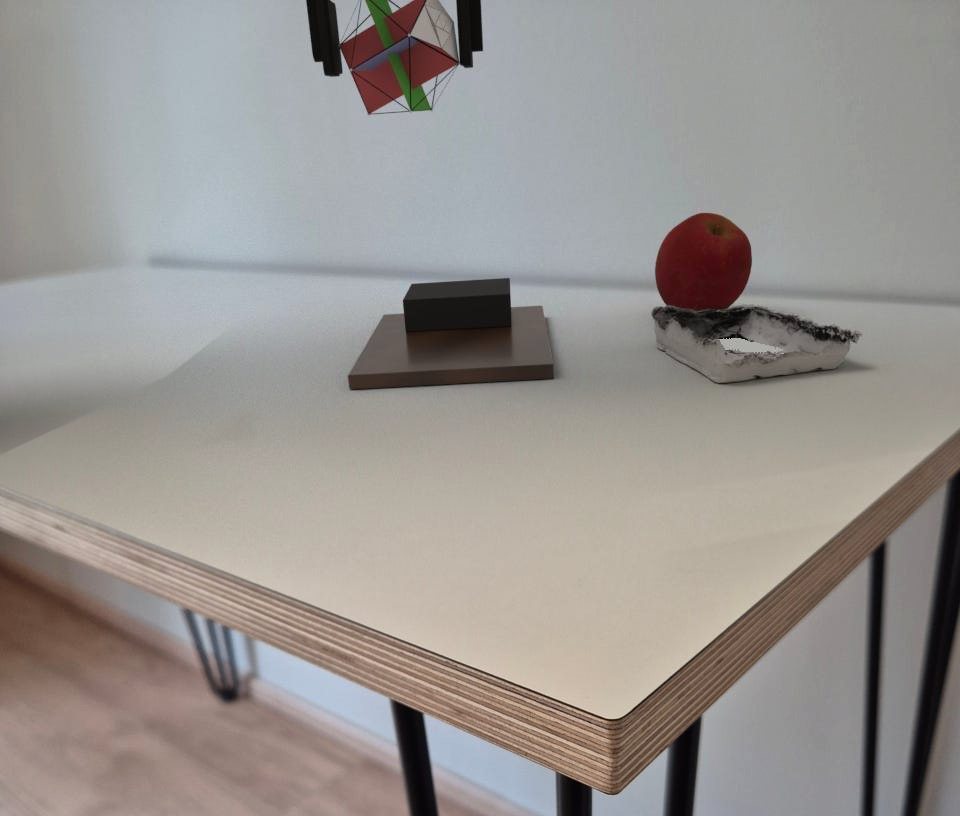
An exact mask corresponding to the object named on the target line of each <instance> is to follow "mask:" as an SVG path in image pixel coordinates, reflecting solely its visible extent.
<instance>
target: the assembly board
mask: <svg viewBox="0 0 960 816" xmlns="http://www.w3.org/2000/svg"><path fill="white" fill-rule="evenodd" d="M511 324H512V325H511V326H506V327H489V328H471V329H453V330H436V331H418V332H406V330H405V319H404V312H403V313H389V314H387V313H386V314H383V315H382V317H381V318H380V319H379V322H378V324H377V325H376V327H375V328H374V329H373V332H372V334H371V335H370V337H369V338H368V340H367V342H366V344H365V345H364V347H363V349H362V351H361V352H360V354H359V356H358V358H357V359H356V361H355V362H354V364H353V366H352V368H351V370H350V371H349V373H348V374H347V380H348V381H347V382H348V388H349V390H369V389H385V388H386V389H387V388H405V387H421V386H422V387H423V386H424V387H425V386H440V385H444V386H445V385H459V384H462V385H463V384H476V383H477V384H479V383H480V384H481V383H497V382H517V381H534V380H553V379H554V378H555V374H554V373H555V372H554V371H555V369H554V360H553V354H552V350H551V344H550V340H549V334H548V333H549V332H548V328H547V323H546V317H545V311H544V307H543V305H529V306H528V305H527V306H524V305H523V306H511Z"/></svg>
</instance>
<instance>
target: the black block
mask: <svg viewBox="0 0 960 816" xmlns="http://www.w3.org/2000/svg"><path fill="white" fill-rule="evenodd" d="M511 295H512V294H511V278H510V277H504V278H503V277H502V278H485V279H469V280H453V281H452V280H451V281H435V282H417V283H411V284H410V286H409V287H408V290H407V291H406V294H405V295H404V297H403V299H402V307H403V308H402V309H403V313H404V319H405V330H406V332H418V331H436V330H453V329H471V328H489V327H506V326H511V325H512V324H511V307H512V297H511Z"/></svg>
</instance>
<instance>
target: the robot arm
mask: <svg viewBox="0 0 960 816" xmlns="http://www.w3.org/2000/svg"><path fill="white" fill-rule="evenodd" d="M455 3H456V6H455V7H456V23H457V34H458V35H457V38H458V57H459V62H460V66H461V67H463V68H464V69H472V68H474V55H473V53H477V52H484V39H483V18H482V15H483V14H482V0H455ZM305 4H306V11H307V12H306V13H307V20H308V28H309V36H310V46H311V52H312V59H313V62H314V63H322V69H323V74H324V76H325V77H330V78H334V77H336V78H337V77H340V76H341V75H343V73H344V72H343V62H342V61H343V60H342V51H341V49H340V47H339V46H338V44H341V40H340V34H339V24H338V15H337V7H336V3H335V2H334V1H332V0H305Z"/></svg>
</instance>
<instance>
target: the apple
mask: <svg viewBox="0 0 960 816" xmlns="http://www.w3.org/2000/svg"><path fill="white" fill-rule="evenodd" d="M752 254H753V253H752V246H751V242H750V239H749V237H748V235H746V232H744V231H743V229H741V228H740V227H739V226H738V225H736V224H735V223H734V222H733V221H732V220H730V219H729V218H728V217H726V216H724V215H721V214H718V213H712V212H698V213H696V214H693V215H691V216H689V217H687V218H685V219H684V220H682V221H681V222H680V223H678V224H677V225H675V226H674V227H673V228H672V229H671V230H670V231H668V233H667V234H666V236H665V237H664V238H663V240H662V243H661V244H660V246H659V249H658V251H657V254H656V258H655V259H656V260H655V266H654V274H655V275H654V278H655V279H654V280H655V284H656V287H657V292H658V295H659V296H660V299H661V300H662V301H663V303H664V304H665V306H667V305H670V306H675V307H679V308H681V309H692V310H693V311H701V310H704V309H714V310H719V309H721V310H723V309H729V308H731V306H732V305H733V304H734V303H736V301H737V300H738V299H739V298H740V297H741V295H742V294H743V293H744V290H746V287H747V284H748V282H749V280H750V276H751V271H752V264H753V255H752Z"/></svg>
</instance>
